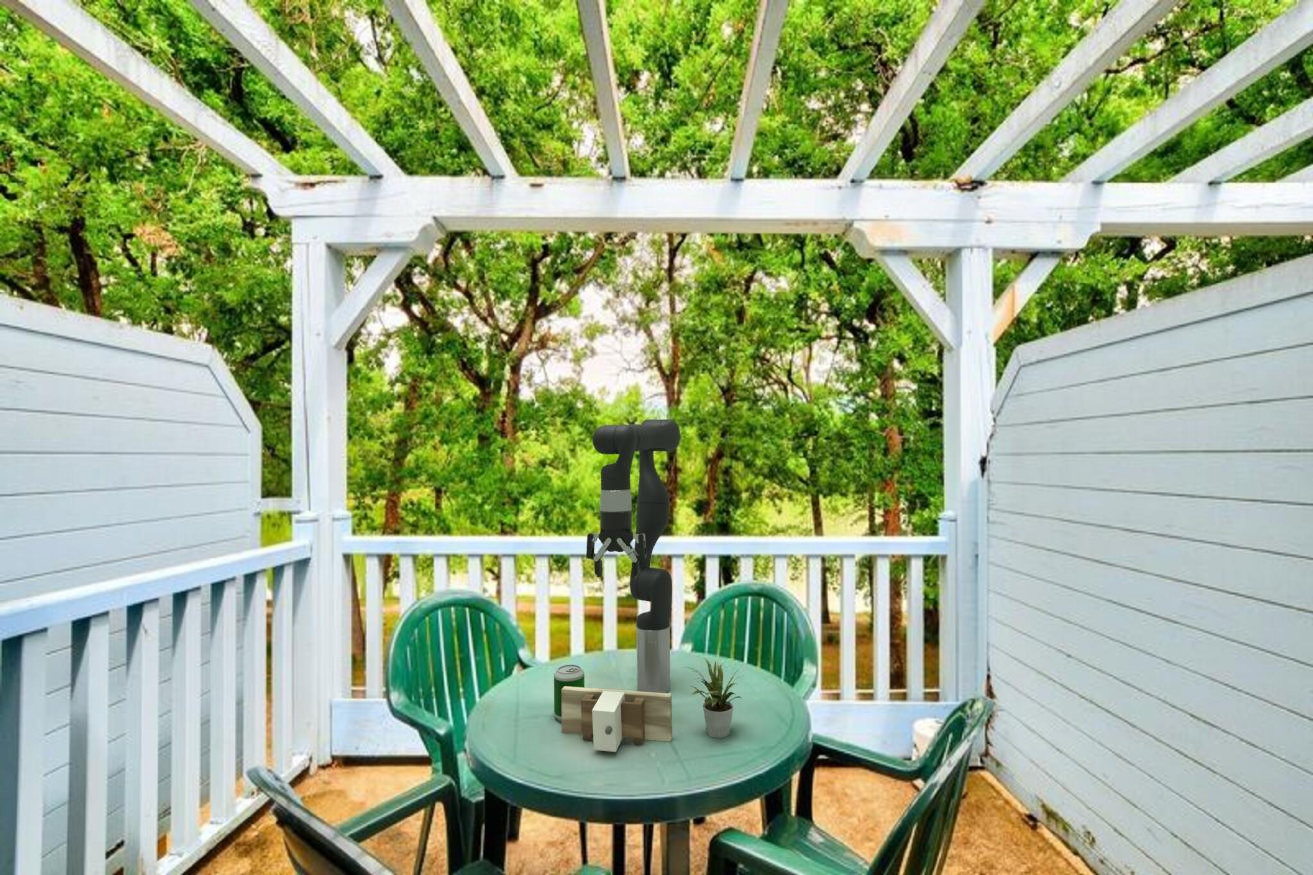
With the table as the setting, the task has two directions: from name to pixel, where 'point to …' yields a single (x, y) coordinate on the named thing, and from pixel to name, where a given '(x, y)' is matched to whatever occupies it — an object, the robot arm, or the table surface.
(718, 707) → the house plant
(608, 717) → the cabinet
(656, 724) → the wall board
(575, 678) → the soda can
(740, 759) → the table surface
